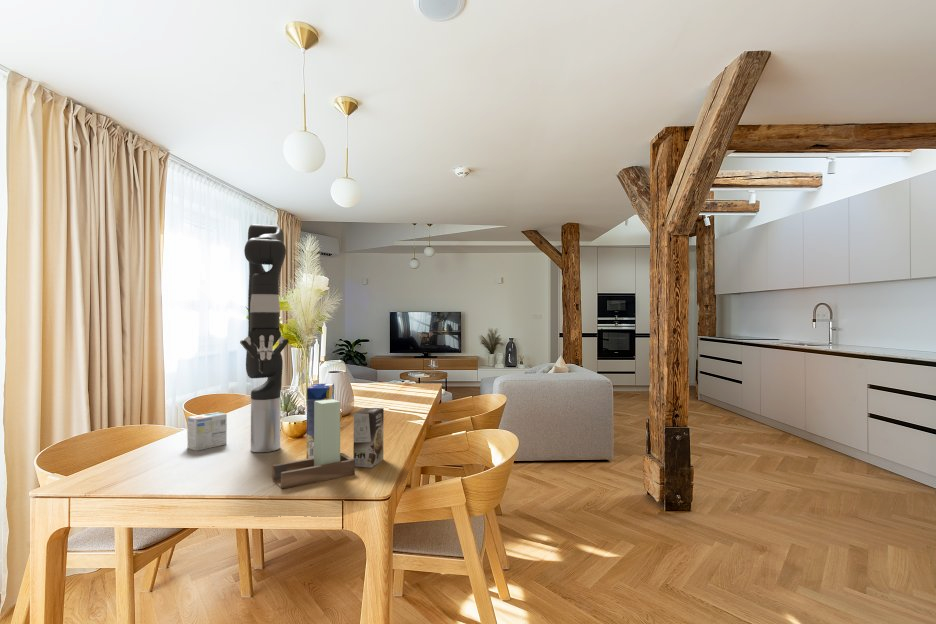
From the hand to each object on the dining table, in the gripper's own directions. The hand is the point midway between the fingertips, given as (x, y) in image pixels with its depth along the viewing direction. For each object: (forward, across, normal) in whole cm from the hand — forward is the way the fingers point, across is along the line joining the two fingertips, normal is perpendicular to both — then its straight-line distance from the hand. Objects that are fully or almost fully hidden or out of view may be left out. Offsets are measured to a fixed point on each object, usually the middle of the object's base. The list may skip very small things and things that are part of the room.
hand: (264, 373), depth 136 cm
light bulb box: (+29, +7, -46) cm, 55 cm away
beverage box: (+29, -21, -14) cm, 39 cm away
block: (+29, -15, +8) cm, 33 cm away
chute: (+29, -11, +8) cm, 32 cm away
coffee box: (+29, -29, +5) cm, 42 cm away
